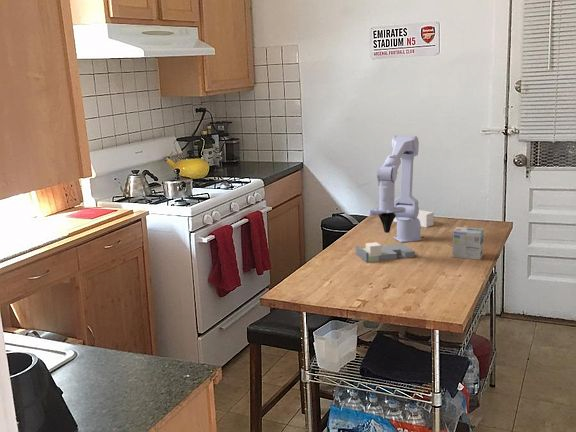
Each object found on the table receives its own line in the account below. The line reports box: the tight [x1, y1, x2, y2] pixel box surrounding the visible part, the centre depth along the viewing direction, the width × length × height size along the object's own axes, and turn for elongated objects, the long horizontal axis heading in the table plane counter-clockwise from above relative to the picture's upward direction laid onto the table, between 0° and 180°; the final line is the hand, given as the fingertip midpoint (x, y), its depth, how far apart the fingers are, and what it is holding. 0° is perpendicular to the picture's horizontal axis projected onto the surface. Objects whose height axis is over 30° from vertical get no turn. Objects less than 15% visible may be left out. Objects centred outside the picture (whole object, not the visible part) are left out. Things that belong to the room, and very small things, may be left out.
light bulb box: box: [451, 226, 484, 261], centre depth 254 cm, size 11×7×11 cm, turn 65°
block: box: [365, 241, 382, 257], centre depth 253 cm, size 4×4×4 cm
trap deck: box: [355, 243, 416, 263], centre depth 259 cm, size 20×11×4 cm, turn 105°
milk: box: [392, 209, 435, 228], centre depth 306 cm, size 6×6×22 cm
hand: (386, 232), depth 255 cm, fingers closed
